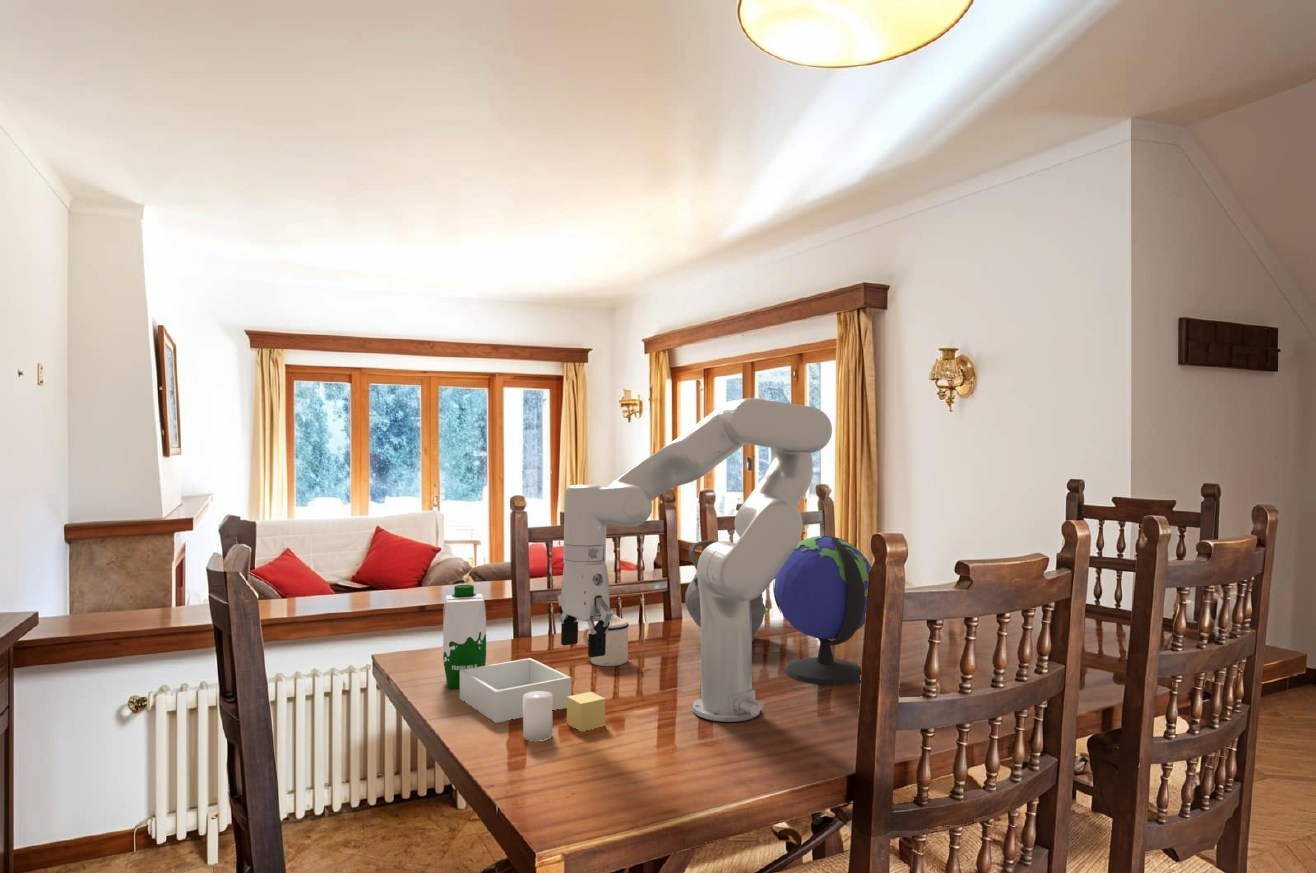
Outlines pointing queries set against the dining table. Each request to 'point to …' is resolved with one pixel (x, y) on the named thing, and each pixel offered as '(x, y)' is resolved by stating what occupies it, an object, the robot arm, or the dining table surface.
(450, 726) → the dining table surface
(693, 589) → the pot
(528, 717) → the white canister
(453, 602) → the milk carton
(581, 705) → the mustard block
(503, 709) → the tote
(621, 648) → the teacup with lid
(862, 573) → the globe
